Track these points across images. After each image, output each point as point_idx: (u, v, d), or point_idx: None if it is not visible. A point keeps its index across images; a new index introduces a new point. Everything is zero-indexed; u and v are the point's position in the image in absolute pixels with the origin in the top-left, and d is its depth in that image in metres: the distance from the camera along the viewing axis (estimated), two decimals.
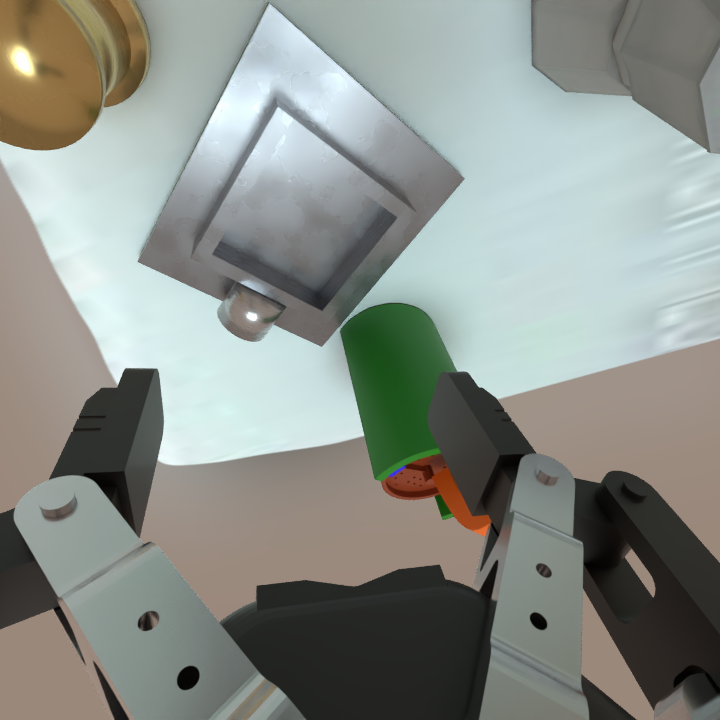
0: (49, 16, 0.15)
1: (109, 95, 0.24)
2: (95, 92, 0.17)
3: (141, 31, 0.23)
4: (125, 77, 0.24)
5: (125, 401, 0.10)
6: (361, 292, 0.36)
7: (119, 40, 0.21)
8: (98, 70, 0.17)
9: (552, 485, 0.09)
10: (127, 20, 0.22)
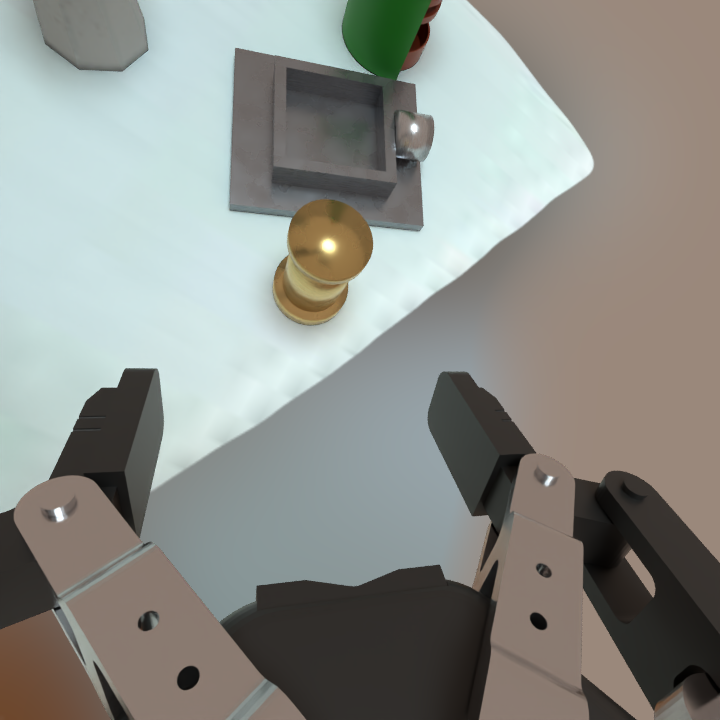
0: (298, 227, 0.29)
1: None
2: (319, 202, 0.30)
3: (287, 256, 0.38)
4: None
5: (125, 401, 0.10)
6: None
7: None
8: (308, 204, 0.30)
9: (552, 485, 0.09)
10: (287, 263, 0.38)
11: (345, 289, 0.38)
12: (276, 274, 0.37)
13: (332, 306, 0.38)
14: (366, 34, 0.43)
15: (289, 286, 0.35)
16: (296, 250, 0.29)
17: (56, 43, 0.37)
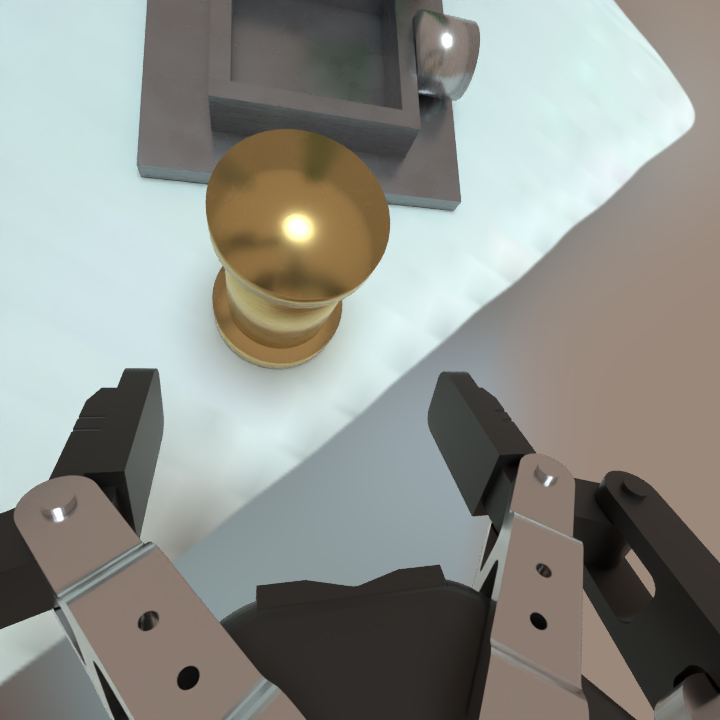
0: (229, 187, 0.14)
1: None
2: (275, 134, 0.14)
3: None
4: None
5: (125, 401, 0.10)
6: None
7: None
8: (251, 140, 0.14)
9: (552, 485, 0.09)
10: None
11: (337, 307, 0.23)
12: (216, 284, 0.21)
13: (315, 337, 0.22)
14: None
15: (233, 307, 0.19)
16: (223, 236, 0.13)
17: None
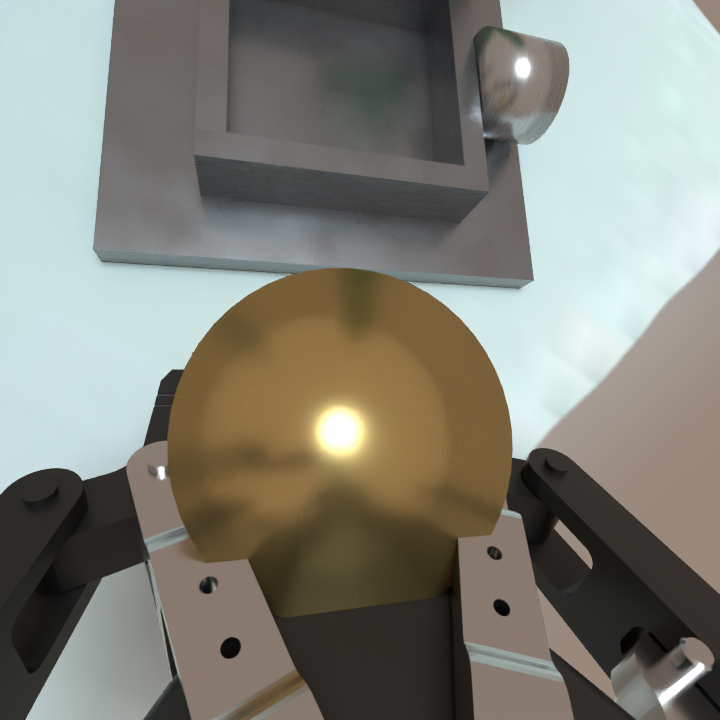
0: (215, 397, 0.07)
1: None
2: (305, 281, 0.08)
3: None
4: None
5: None
6: None
7: None
8: (259, 293, 0.08)
9: None
10: None
11: None
12: None
13: None
14: None
15: None
16: (202, 513, 0.06)
17: None
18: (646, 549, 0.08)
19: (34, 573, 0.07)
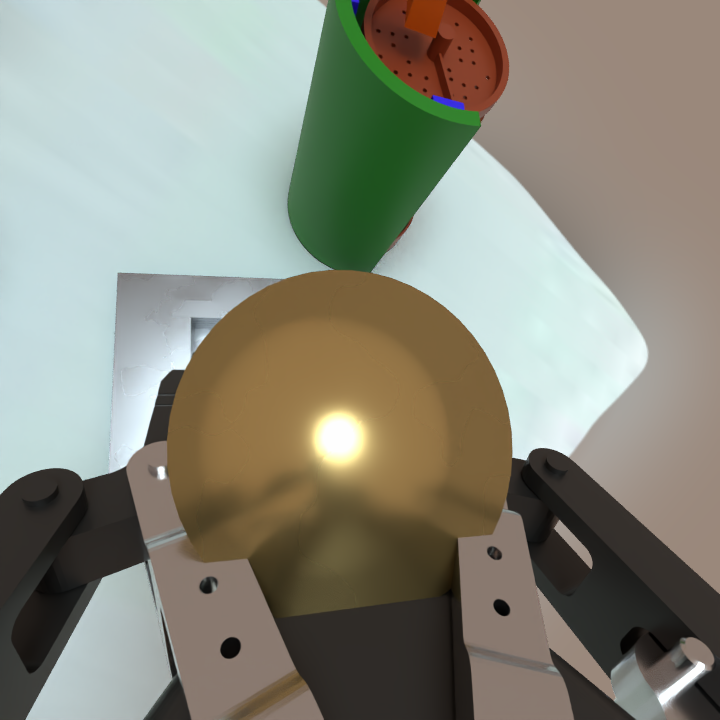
0: (215, 399, 0.07)
1: None
2: (304, 283, 0.08)
3: None
4: None
5: None
6: None
7: None
8: (259, 295, 0.08)
9: None
10: None
11: None
12: None
13: None
14: (319, 233, 0.28)
15: None
16: (201, 516, 0.06)
17: None
18: (646, 550, 0.08)
19: (34, 573, 0.07)
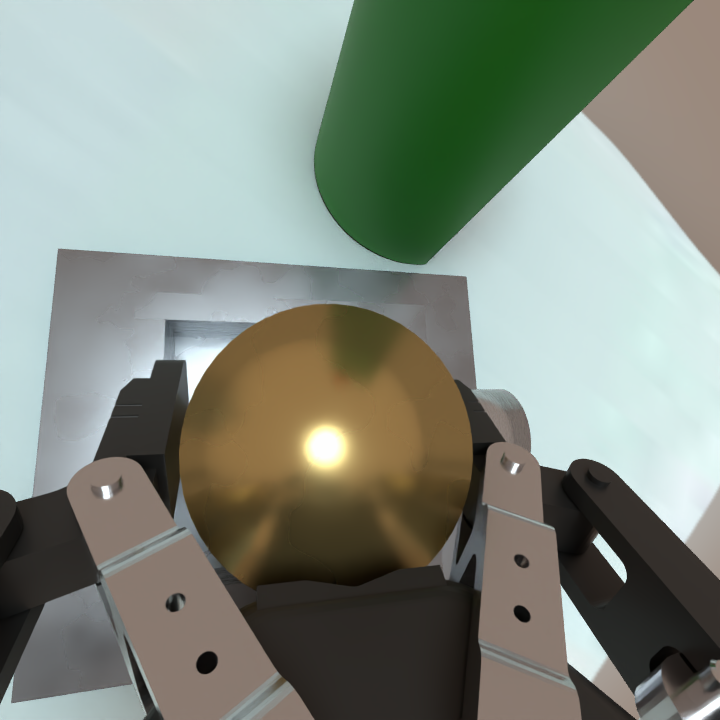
0: (218, 415, 0.08)
1: None
2: (294, 316, 0.09)
3: None
4: None
5: (159, 390, 0.10)
6: (341, 277, 0.20)
7: None
8: (257, 325, 0.09)
9: (517, 472, 0.10)
10: None
11: None
12: None
13: None
14: (364, 198, 0.19)
15: None
16: (208, 513, 0.08)
17: None
18: (686, 570, 0.08)
19: None
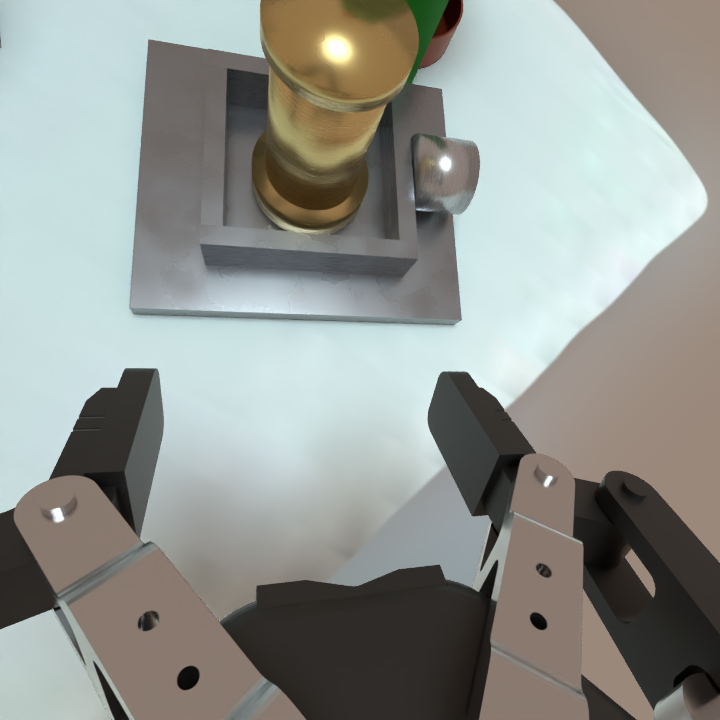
0: None
1: None
2: None
3: None
4: None
5: (125, 401, 0.10)
6: None
7: None
8: None
9: (552, 485, 0.09)
10: None
11: (364, 178, 0.25)
12: (255, 151, 0.23)
13: (344, 203, 0.24)
14: None
15: (273, 156, 0.21)
16: (275, 34, 0.15)
17: None
18: None
19: None
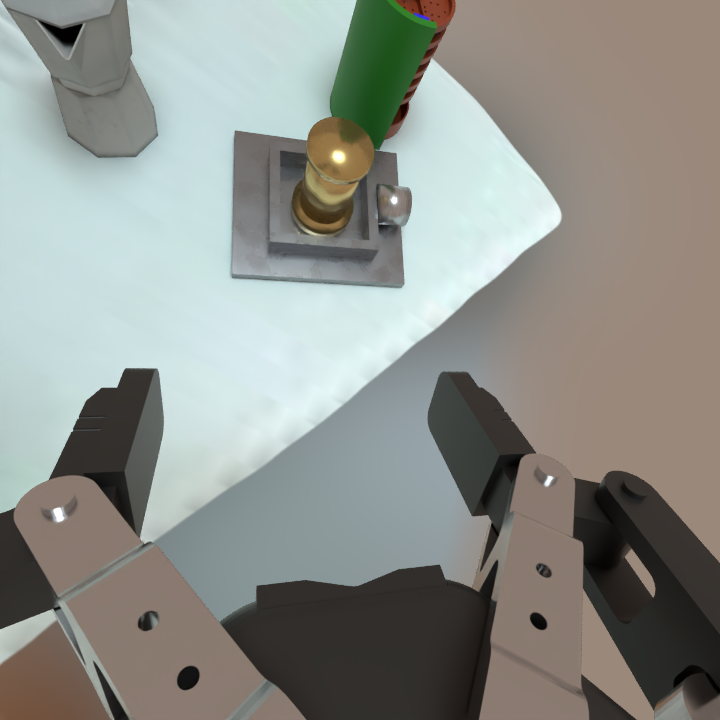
0: (314, 138, 0.37)
1: None
2: (331, 119, 0.38)
3: (303, 179, 0.45)
4: None
5: (125, 401, 0.10)
6: None
7: None
8: (322, 121, 0.38)
9: (552, 485, 0.09)
10: (303, 184, 0.45)
11: (351, 207, 0.46)
12: (294, 193, 0.45)
13: (340, 220, 0.45)
14: (351, 114, 0.48)
15: (306, 198, 0.42)
16: (313, 154, 0.36)
17: (78, 137, 0.42)
18: None
19: None
